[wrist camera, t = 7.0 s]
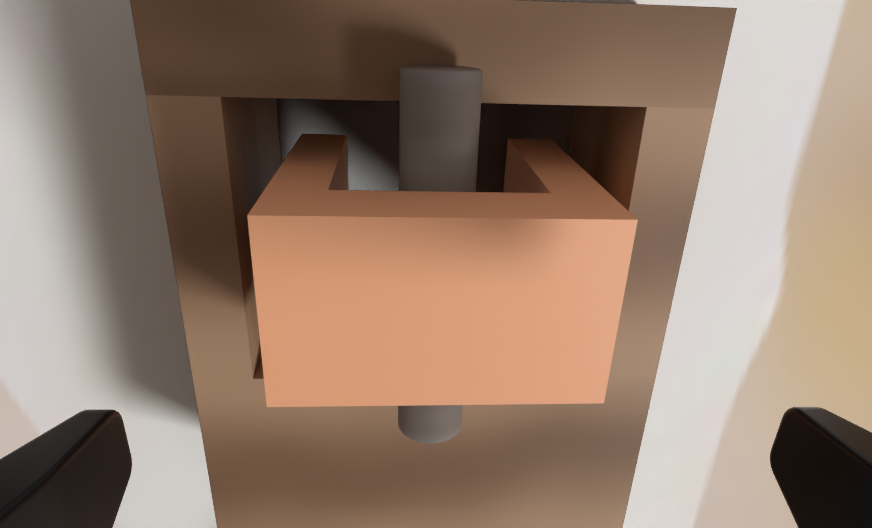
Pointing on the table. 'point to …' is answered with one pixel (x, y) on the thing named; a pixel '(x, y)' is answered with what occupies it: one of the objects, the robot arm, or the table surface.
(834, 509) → the robot arm
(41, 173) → the table surface
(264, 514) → the wooden divided tray
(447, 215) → the staple
